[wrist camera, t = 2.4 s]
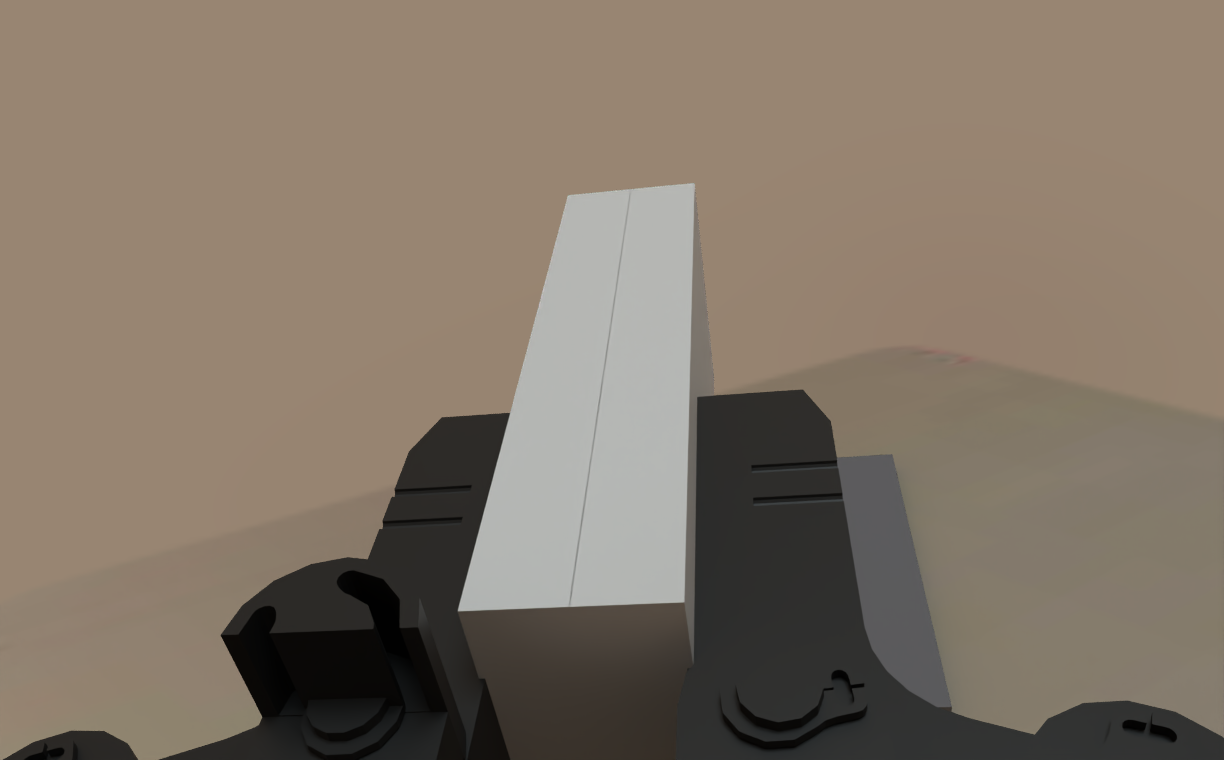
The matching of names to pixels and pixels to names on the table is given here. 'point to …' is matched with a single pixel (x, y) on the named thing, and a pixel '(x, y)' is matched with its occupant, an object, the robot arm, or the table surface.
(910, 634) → the charcoal mat
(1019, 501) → the table surface
